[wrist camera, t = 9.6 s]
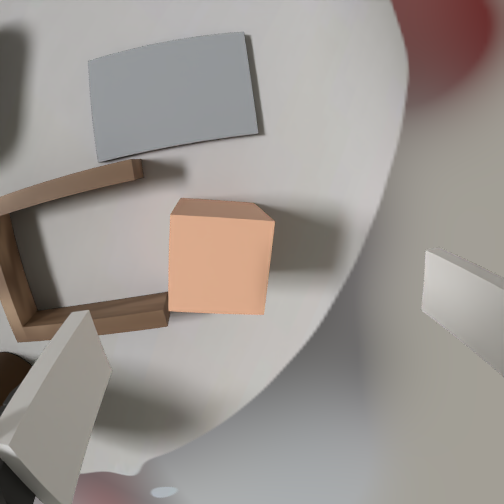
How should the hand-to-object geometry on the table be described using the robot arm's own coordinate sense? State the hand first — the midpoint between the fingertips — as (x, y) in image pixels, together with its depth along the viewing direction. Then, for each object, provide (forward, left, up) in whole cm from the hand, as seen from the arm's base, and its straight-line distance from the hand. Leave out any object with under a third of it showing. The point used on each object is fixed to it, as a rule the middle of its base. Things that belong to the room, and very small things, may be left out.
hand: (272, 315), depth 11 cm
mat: (-12, -4, -16) cm, 20 cm away
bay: (0, -15, -16) cm, 22 cm away
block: (+1, -2, -16) cm, 16 cm away
